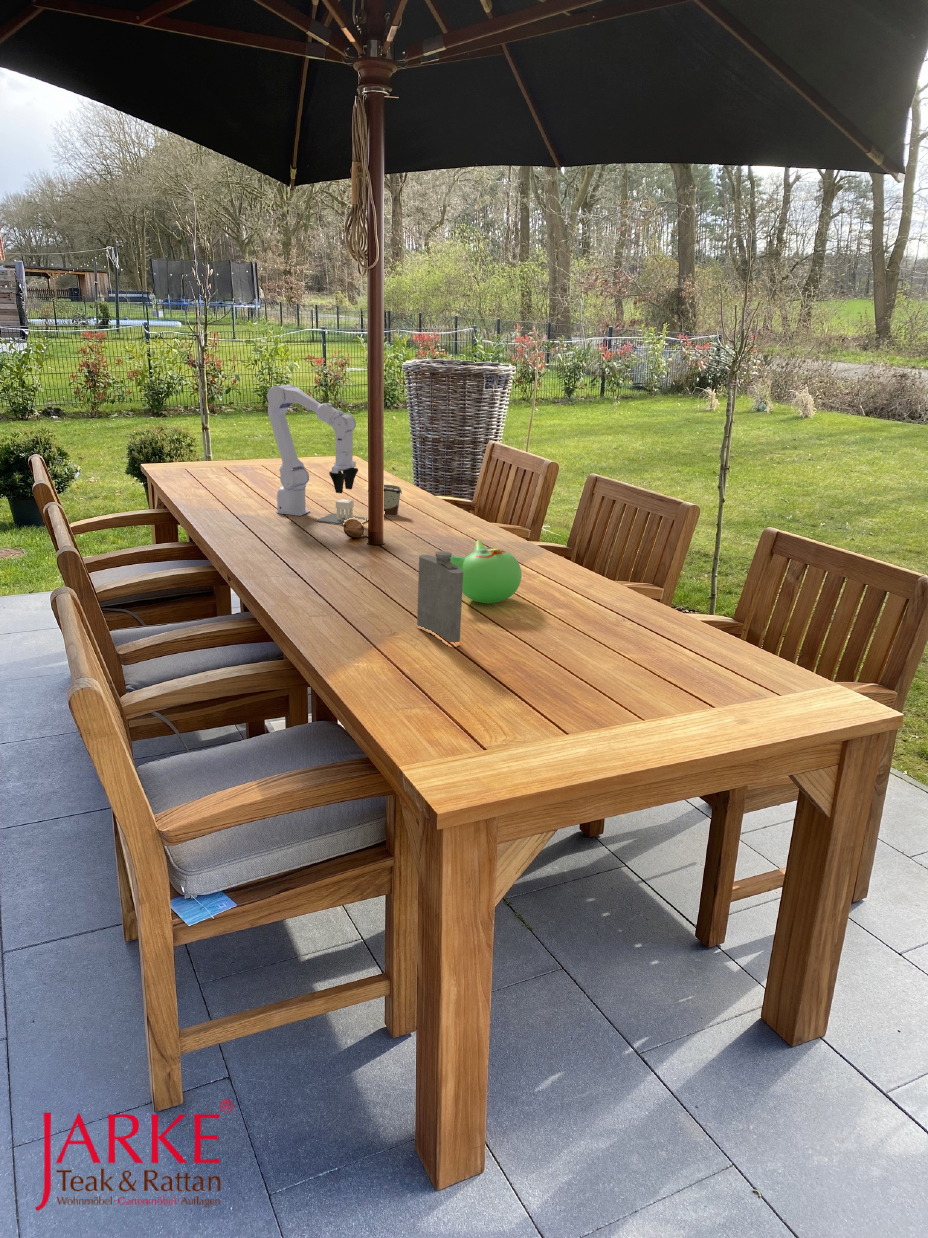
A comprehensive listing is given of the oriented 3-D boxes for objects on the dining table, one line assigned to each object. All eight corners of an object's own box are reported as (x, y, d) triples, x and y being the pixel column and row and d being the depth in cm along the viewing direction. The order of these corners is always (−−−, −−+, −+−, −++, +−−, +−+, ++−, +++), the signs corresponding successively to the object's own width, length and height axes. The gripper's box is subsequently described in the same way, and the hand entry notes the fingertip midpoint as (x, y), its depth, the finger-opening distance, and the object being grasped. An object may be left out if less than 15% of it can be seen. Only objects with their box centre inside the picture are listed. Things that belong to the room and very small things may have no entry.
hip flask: (414, 626, 212) (416, 545, 206) (429, 624, 215) (431, 543, 208) (450, 648, 200) (454, 562, 193) (465, 645, 202) (469, 560, 196)
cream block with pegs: (347, 521, 307) (347, 502, 305) (335, 519, 308) (335, 501, 306) (353, 518, 311) (353, 500, 309) (341, 517, 312) (341, 498, 310)
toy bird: (496, 616, 222) (500, 559, 217) (440, 602, 231) (442, 547, 226) (530, 598, 237) (534, 545, 232) (476, 586, 245) (479, 534, 240)
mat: (316, 521, 307) (316, 519, 306) (332, 514, 317) (332, 513, 317) (356, 526, 302) (356, 525, 302) (370, 519, 313) (370, 518, 313)
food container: (404, 512, 326) (404, 485, 323) (401, 516, 320) (401, 488, 317) (370, 510, 327) (371, 483, 324) (367, 513, 321) (367, 486, 318)
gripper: (345, 455, 294) (345, 495, 299) (363, 449, 307) (363, 488, 312) (326, 453, 296) (326, 493, 301) (345, 447, 309) (345, 486, 314)
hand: (343, 490), depth 306 cm, fingers open, 7 cm apart
